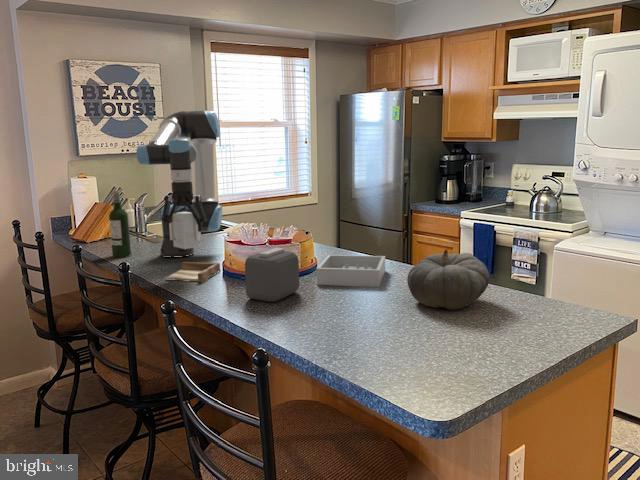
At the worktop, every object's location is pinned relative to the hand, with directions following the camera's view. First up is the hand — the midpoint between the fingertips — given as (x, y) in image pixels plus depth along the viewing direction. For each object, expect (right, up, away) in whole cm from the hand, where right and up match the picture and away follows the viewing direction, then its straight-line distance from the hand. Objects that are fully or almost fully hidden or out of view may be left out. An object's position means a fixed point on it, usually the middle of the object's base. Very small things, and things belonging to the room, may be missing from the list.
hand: (185, 239), depth 210 cm
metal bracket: (+64, -15, -7) cm, 66 cm away
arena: (+1, -14, +3) cm, 14 cm away
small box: (0, -3, +1) cm, 3 cm away
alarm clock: (+36, -19, -26) cm, 48 cm away
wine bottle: (-39, -8, +42) cm, 58 cm away
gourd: (+91, -20, -37) cm, 100 cm away
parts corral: (+63, -14, -4) cm, 65 cm away
